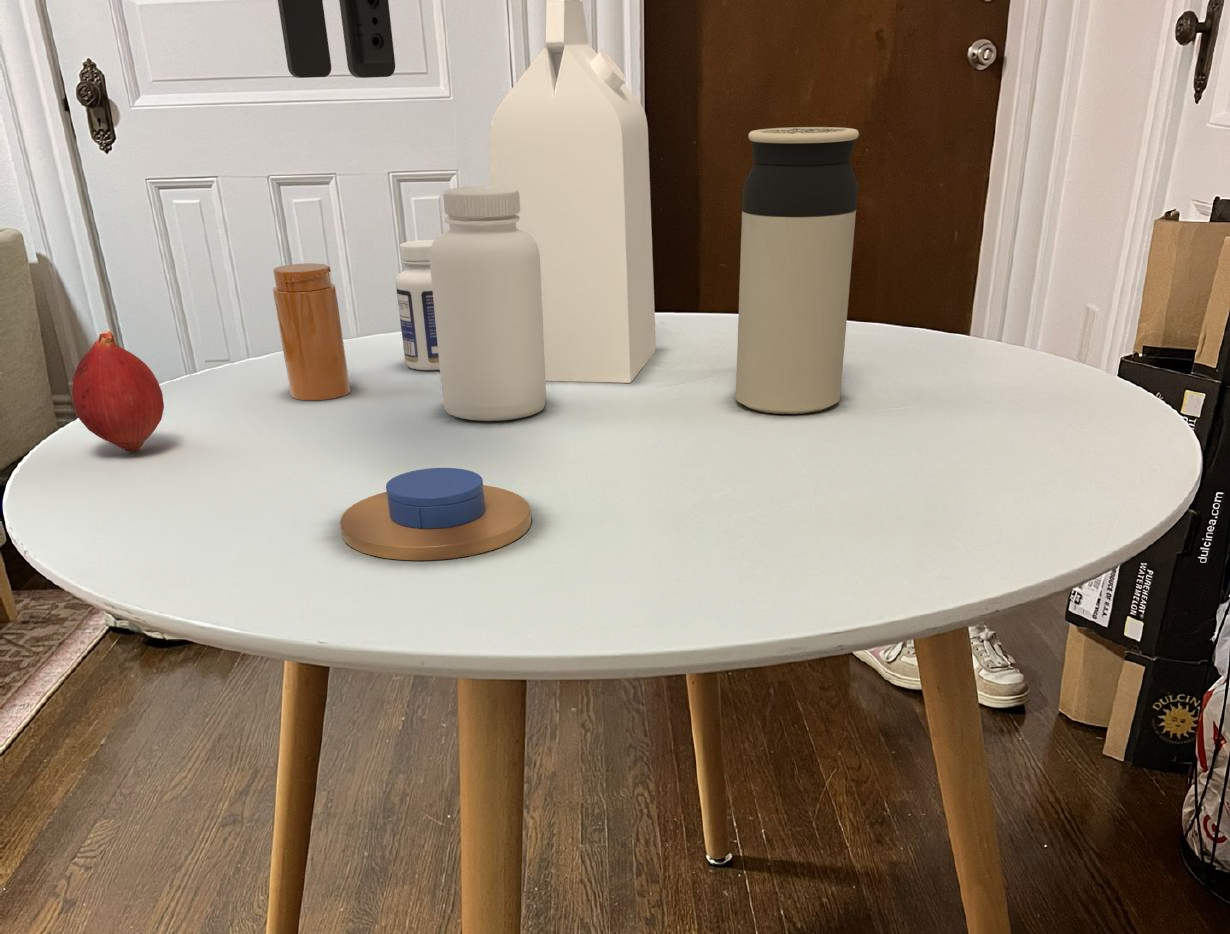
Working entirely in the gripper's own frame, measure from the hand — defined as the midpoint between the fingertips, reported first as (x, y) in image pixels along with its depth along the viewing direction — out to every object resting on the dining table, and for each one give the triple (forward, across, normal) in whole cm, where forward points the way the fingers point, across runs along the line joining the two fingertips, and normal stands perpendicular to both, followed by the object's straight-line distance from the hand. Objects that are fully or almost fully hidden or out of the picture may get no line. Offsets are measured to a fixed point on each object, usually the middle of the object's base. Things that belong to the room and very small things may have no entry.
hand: (340, 77), depth 59 cm
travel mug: (+22, +3, -34) cm, 41 cm away
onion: (+22, +21, +11) cm, 33 cm away
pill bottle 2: (+22, +15, -15) cm, 31 cm away
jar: (+22, +29, -6) cm, 37 cm away
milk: (+22, +24, -28) cm, 43 cm away
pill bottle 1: (+22, +32, -18) cm, 43 cm away
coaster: (+22, -6, 0) cm, 23 cm away
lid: (+20, -6, 0) cm, 21 cm away
